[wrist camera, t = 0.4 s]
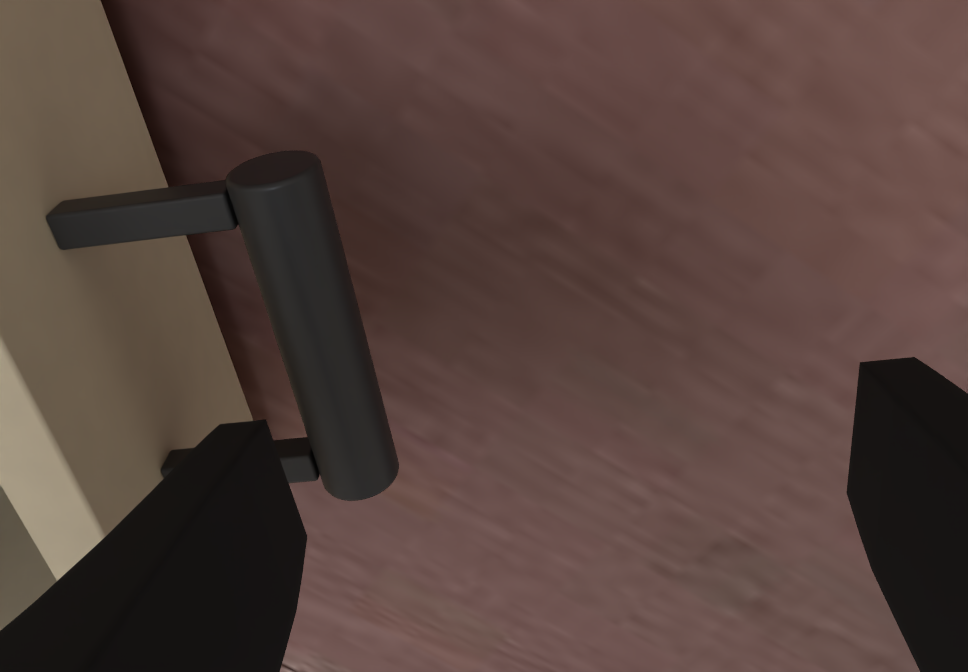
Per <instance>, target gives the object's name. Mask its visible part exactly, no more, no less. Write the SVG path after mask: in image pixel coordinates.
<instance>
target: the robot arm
mask: <svg viewBox="0 0 968 672" xmlns="http://www.w3.org/2000/svg"><path fill="white" fill-rule="evenodd" d="M847 495H848V498H849V502H850V505H851V508H852V511H853V514H854V518H855V521H856V524H857V527H858V530H859V533H860V536H861V539H862V542H863V545H864V548H865V551H866V554H867V557H868V560H869V563H870V566H871V569H872V571H873V573H874V575H875V577H876V580H877V582H878V584H879V586H880V588H881V590H882V592H883V595H884V597H885V599H886V601H887V603H888V605H889V607H890V609H891V611H892V614H893V616H894V618H895V620H896V622H897V624H898V626H899V628H900V630H901V632H902V635H903V637H904V639H905V641H906V643H907V645H908V647H909V649H910V651H911V653H912V655H913V657H914V659H915V661H916V664H917V666H918V668H919V670H920V672H968V394H967V393H966V392H965V391H963V390H962V389H960V388H959V387H958V386H956V385H955V384H953V383H952V382H950V381H949V380H948V379H946V378H945V377H943V376H942V375H940V374H939V373H938V372H936V371H935V370H933V369H932V368H930V367H929V366H927V365H926V364H924V363H923V362H921V361H920V360H918V359H917V358H915V357H911V358H901V359H890V360H880V361H869V362H860V367H859V377H858V387H857V397H856V406H855V416H854V426H853V436H852V445H851V455H850V465H849V475H848V485H847ZM306 542H307V534H306V532H305V529H304V526H303V523H302V520H301V517H300V515H299V512H298V509H297V506H296V503H295V500H294V498H293V495H292V492H291V489H290V486H289V483H288V481H287V478H286V475H285V472H284V469H283V466H282V464H281V461H280V458H279V455H278V452H277V449H276V447H275V444H274V441H273V438H272V435H271V432H270V430H269V427H268V424H267V421H266V420H257V421H246V422H236V423H225V424H219V425H218V426H217V427H216V428H215V429H214V430H213V431H212V432H210V433H209V434H208V435H207V436H206V437H205V438H204V439H203V440H202V441H201V442H200V443H199V444H198V445H197V446H196V447H195V448H194V449H193V450H192V451H191V452H190V453H189V454H188V455H187V456H186V457H185V458H184V459H183V460H182V461H181V462H180V463H179V464H178V465H177V466H176V467H175V468H174V469H173V470H172V471H171V472H170V473H169V474H168V475H167V476H166V477H165V478H164V479H163V480H162V481H161V482H160V483H159V484H158V485H157V486H156V487H155V488H154V489H153V490H152V491H151V492H150V493H149V494H148V495H147V496H146V497H145V498H144V499H143V500H142V501H141V502H140V503H139V504H138V505H137V506H136V507H135V508H134V509H133V510H132V511H131V512H130V513H129V514H128V515H127V516H126V517H125V518H124V519H123V520H122V521H121V522H120V523H119V524H118V525H117V526H116V527H115V528H114V529H113V530H112V531H111V532H110V533H109V534H108V535H107V536H106V537H104V538H103V539H102V540H101V541H100V542H99V543H98V544H97V545H96V546H95V547H94V548H93V549H92V550H90V551H89V552H88V553H87V554H86V555H85V556H84V557H83V558H82V559H81V560H80V561H78V562H77V563H76V564H75V565H74V566H73V567H72V568H71V569H70V570H69V571H68V572H66V573H65V574H64V575H63V576H62V577H61V578H60V579H59V580H58V581H57V582H56V583H54V584H53V585H52V586H51V587H50V588H49V589H48V590H47V591H46V592H45V593H44V594H42V595H41V596H40V597H39V598H38V599H37V600H36V601H35V602H34V603H32V604H31V605H30V606H29V607H28V608H27V609H25V610H24V611H23V612H22V613H21V614H20V615H18V616H17V617H16V618H15V619H14V620H13V621H11V622H10V623H9V624H8V625H6V626H5V627H4V628H3V629H2V630H0V672H280V668H281V665H282V661H283V657H284V654H285V650H286V647H287V643H288V640H289V636H290V632H291V629H292V625H293V621H294V618H295V614H296V610H297V604H298V598H299V592H300V585H301V579H302V572H303V565H304V557H305V549H306Z"/></svg>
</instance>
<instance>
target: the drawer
mask: <svg viewBox="0 0 968 672" xmlns="http://www.w3.org/2000/svg"><path fill="white" fill-rule="evenodd" d="M238 224H239V227H240V230H241V233H242V236H243V239H244V242H245V245H246V248H247V251H248V255H249V258H250V261H251V264H252V267H253V270H254V273H255V276H256V279H257V282H258V285H259V288H260V291H261V294H262V298H263V301H264V304H265V307H266V310H267V313H268V316H269V319H270V322H271V325H272V328H273V331H274V334H275V338H276V341H277V344H278V347H279V350H280V353H281V356H282V359H283V362H284V365H285V368H286V371H287V374H288V377H289V381H290V384H291V387H292V390H293V393H294V396H295V399H296V402H297V405H298V408H299V411H300V414H301V417H302V421H303V424H304V427H305V430H306V433H307V436H308V437H303V438H293V439H282V440H273V441H274V444H275V447H276V449H277V452H278V455H279V458H280V461H281V464H282V466H283V469H284V472H285V475H286V478H287V481H288V483H295V482H307V481H316V480H317V479H318V477H319V474H320V476H321V479H322V482H323V485H324V487H325V489H326V490H327V491H328V492H329V493H330V494H331V495H332V496H334V497H336V498H338V499H341V500H347V501H356V500H363V499H367V498H370V497H373V496H375V495H377V494H379V493H381V492H382V491H384V490H385V489H386V488H388V487H389V486H390V485H391V484H392V482H393V481H394V480H395V478H396V476H397V473H398V469H399V462H398V458H397V454H396V450H395V446H394V442H393V439H392V435H391V431H390V427H389V423H388V419H387V415H386V412H385V408H384V404H383V400H382V396H381V392H380V388H379V385H378V381H377V377H376V373H375V369H374V365H373V361H372V358H371V354H370V350H369V346H368V342H367V338H366V334H365V330H364V327H363V323H362V319H361V315H360V311H359V307H358V303H357V300H356V296H355V292H354V288H353V284H352V280H351V276H350V273H349V269H348V265H347V261H346V257H345V253H344V249H343V246H342V242H341V238H340V234H339V230H338V226H337V222H336V219H335V215H334V211H333V207H332V203H331V199H330V195H329V191H328V188H327V184H326V180H325V176H324V172H323V168H322V164H321V161H320V159H319V158H318V157H317V156H316V155H315V154H314V153H311V152H307V151H280V152H274V153H269V154H265V155H262V156H259V157H256V158H253V159H251V160H248V161H246V162H244V163H242V164H240V165H239V166H237V167H235V168H234V169H233V170H232V171H230V172H229V174H228V175H227V178H226V180H222V181H214V182H206V183H198V184H190V185H182V186H175V187H168V184H167V182H166V179H165V176H164V173H163V171H162V168H161V165H160V162H159V160H158V157H157V154H156V151H155V149H154V146H153V143H152V140H151V138H150V135H149V132H148V129H147V127H146V124H145V121H144V118H143V116H142V113H141V110H140V107H139V105H138V102H137V99H136V96H135V94H134V91H133V88H132V85H131V83H130V80H129V77H128V74H127V72H126V69H125V66H124V63H123V61H122V58H121V55H120V52H119V50H118V47H117V44H116V41H115V39H114V36H113V33H112V30H111V28H110V25H109V22H108V19H107V17H106V14H105V11H104V8H103V6H102V3H101V0H0V630H2V629H3V628H4V627H5V626H6V625H8V624H9V623H10V622H11V621H13V620H14V619H15V618H16V617H17V616H18V615H20V614H21V613H22V612H23V611H24V610H25V609H27V608H28V607H29V606H30V605H31V604H32V603H34V602H35V601H36V600H37V599H38V598H39V597H40V596H41V595H42V594H44V593H45V592H46V591H47V590H48V589H49V588H50V587H51V586H52V585H53V584H54V583H56V582H57V581H58V580H59V579H60V578H61V577H62V576H63V575H64V574H65V573H66V572H68V571H69V570H70V569H71V568H72V567H73V566H74V565H75V564H76V563H77V562H78V561H80V560H81V559H82V558H83V557H84V556H85V555H86V554H87V553H88V552H89V551H90V550H92V549H93V548H94V547H95V546H96V545H97V544H98V543H99V542H100V541H101V540H102V539H103V538H104V537H106V536H107V535H108V534H109V533H110V532H111V531H112V530H113V529H114V528H115V527H116V526H117V525H118V524H119V523H120V522H121V521H122V520H123V519H124V518H125V517H126V516H127V515H128V514H129V513H130V512H131V511H132V510H133V509H134V508H135V507H136V506H137V505H138V504H139V503H140V502H141V501H142V500H143V499H144V498H145V497H146V496H147V495H148V494H149V493H150V492H151V491H152V490H153V489H154V488H155V487H156V486H157V485H158V484H159V483H160V482H161V481H162V480H163V479H164V478H165V477H166V476H167V475H168V474H169V473H170V472H171V471H172V470H173V469H174V468H175V467H176V466H177V465H178V464H179V463H180V462H181V461H182V460H183V459H184V458H185V457H186V456H187V455H188V454H189V453H190V452H191V451H192V450H193V449H194V448H195V447H196V446H197V445H198V444H199V443H200V442H201V441H202V440H203V439H204V438H205V437H206V436H207V435H208V434H209V433H210V432H212V431H213V430H214V429H215V428H216V427H217V426H218V425H219V424H225V423H236V422H246V421H253V418H252V416H251V413H250V410H249V407H248V405H247V402H246V399H245V396H244V394H243V391H242V388H241V385H240V383H239V380H238V377H237V374H236V372H235V369H234V366H233V363H232V361H231V358H230V355H229V352H228V350H227V347H226V344H225V341H224V339H223V336H222V333H221V330H220V328H219V325H218V322H217V319H216V317H215V314H214V311H213V308H212V306H211V303H210V300H209V297H208V295H207V292H206V289H205V286H204V284H203V281H202V278H201V275H200V273H199V270H198V267H197V264H196V262H195V259H194V256H193V253H192V251H191V248H190V245H189V242H188V240H187V237H186V235H192V234H200V233H208V232H217V231H225V230H233V229H235V228H236V227H237V225H238Z"/></svg>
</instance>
